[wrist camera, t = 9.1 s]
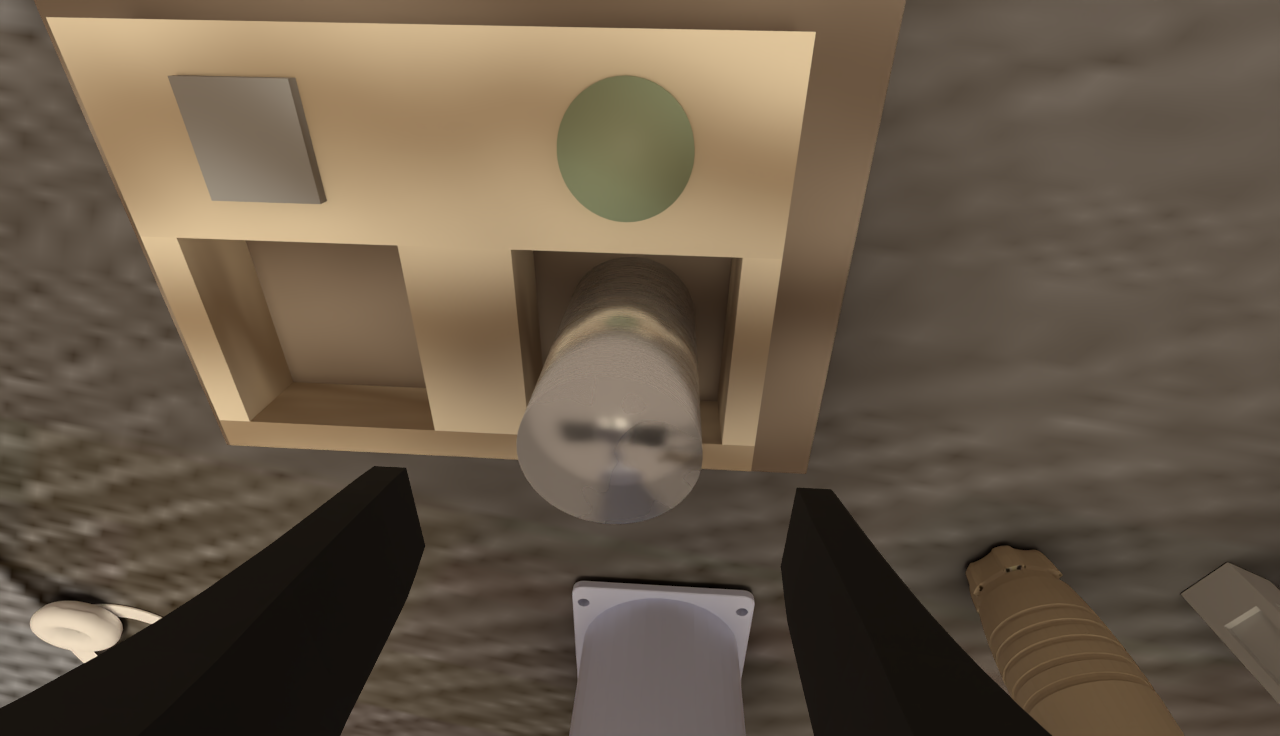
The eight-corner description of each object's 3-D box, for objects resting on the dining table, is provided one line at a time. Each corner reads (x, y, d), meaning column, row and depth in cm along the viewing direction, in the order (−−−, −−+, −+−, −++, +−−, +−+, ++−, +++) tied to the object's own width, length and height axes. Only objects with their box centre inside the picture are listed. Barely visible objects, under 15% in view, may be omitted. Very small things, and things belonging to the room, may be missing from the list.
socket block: (802, 463, 22) (821, 528, 19) (237, 435, 23) (173, 493, 20) (911, -64, 14) (972, -89, 11) (23, -75, 15) (-136, -101, 12)
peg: (690, 373, 19) (696, 528, 13) (572, 368, 19) (524, 519, 13) (698, 259, 17) (710, 381, 11) (566, 254, 17) (507, 372, 11)
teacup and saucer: (36, 578, 29) (-54, 655, 25) (192, 592, 29) (124, 671, 25) (107, 681, 33) (39, 758, 30) (243, 694, 33) (191, 773, 29)
